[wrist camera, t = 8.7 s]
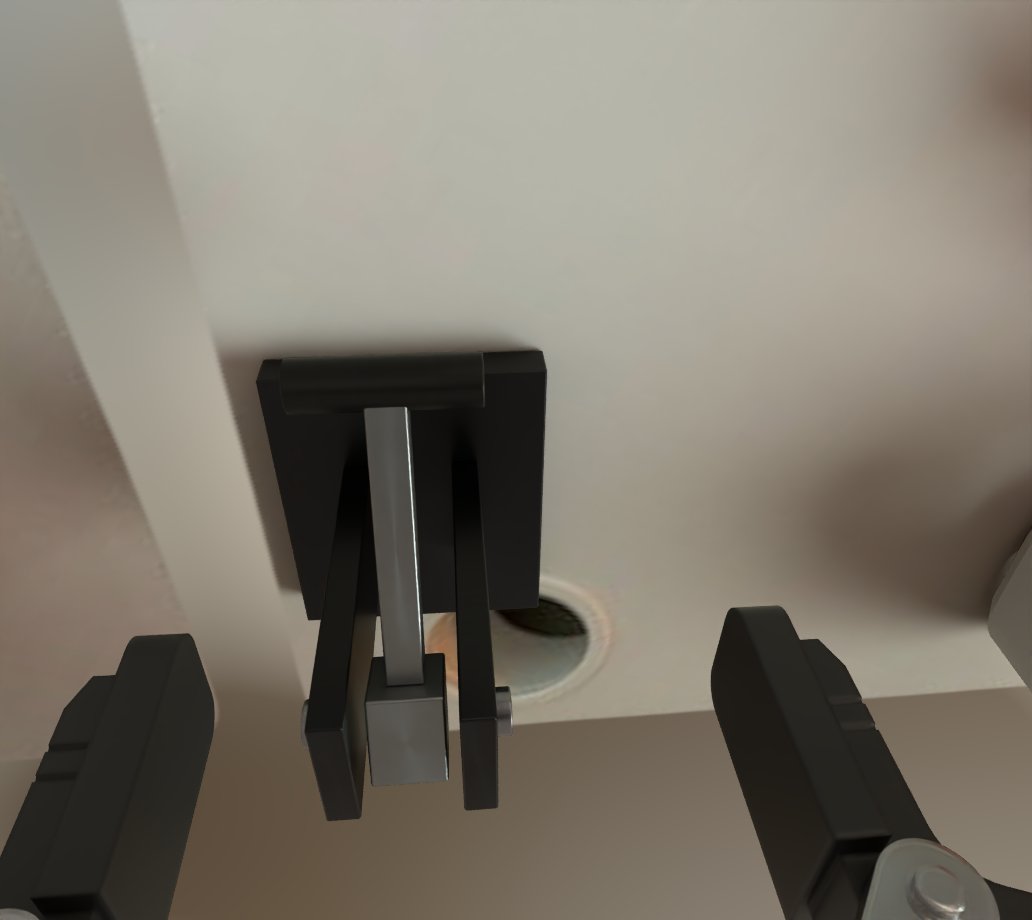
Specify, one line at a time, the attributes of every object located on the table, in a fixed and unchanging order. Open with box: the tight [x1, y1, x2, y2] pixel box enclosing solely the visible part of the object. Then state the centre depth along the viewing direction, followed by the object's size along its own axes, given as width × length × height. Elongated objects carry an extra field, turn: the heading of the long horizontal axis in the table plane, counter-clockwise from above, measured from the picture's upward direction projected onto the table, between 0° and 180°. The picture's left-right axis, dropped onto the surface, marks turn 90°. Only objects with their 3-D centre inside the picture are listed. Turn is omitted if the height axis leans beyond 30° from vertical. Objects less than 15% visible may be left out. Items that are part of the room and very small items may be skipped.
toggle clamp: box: [256, 351, 547, 821], centre depth 27 cm, size 12×10×13 cm
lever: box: [280, 352, 485, 786], centre depth 22 cm, size 12×5×2 cm, turn 179°
